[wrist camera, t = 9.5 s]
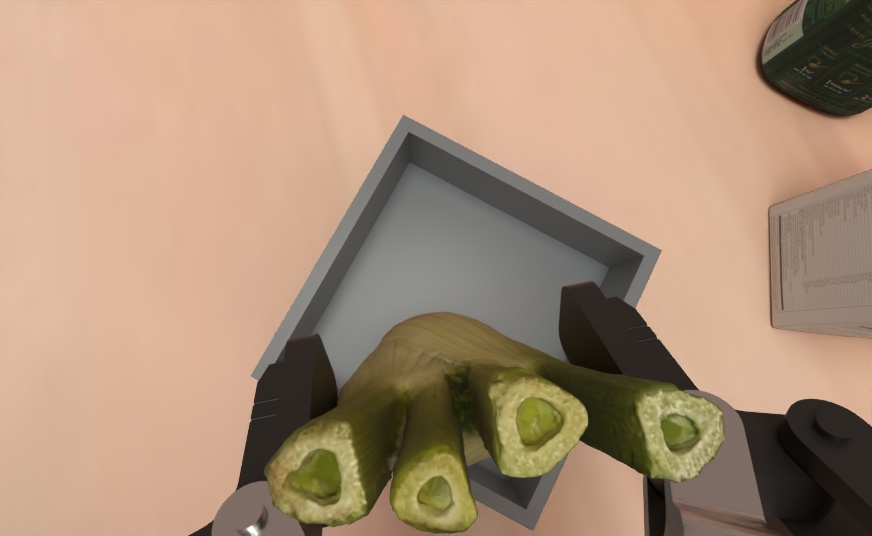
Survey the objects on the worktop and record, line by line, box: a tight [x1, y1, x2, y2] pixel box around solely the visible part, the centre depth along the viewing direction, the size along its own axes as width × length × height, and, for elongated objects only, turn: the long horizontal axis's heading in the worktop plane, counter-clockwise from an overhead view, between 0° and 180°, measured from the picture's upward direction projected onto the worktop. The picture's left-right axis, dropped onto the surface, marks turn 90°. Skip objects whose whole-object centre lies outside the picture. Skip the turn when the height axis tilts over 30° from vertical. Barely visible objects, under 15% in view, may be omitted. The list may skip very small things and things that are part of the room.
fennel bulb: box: [264, 312, 725, 533], centre depth 11 cm, size 6×5×12 cm
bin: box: [251, 115, 662, 531], centre depth 29 cm, size 18×18×6 cm
